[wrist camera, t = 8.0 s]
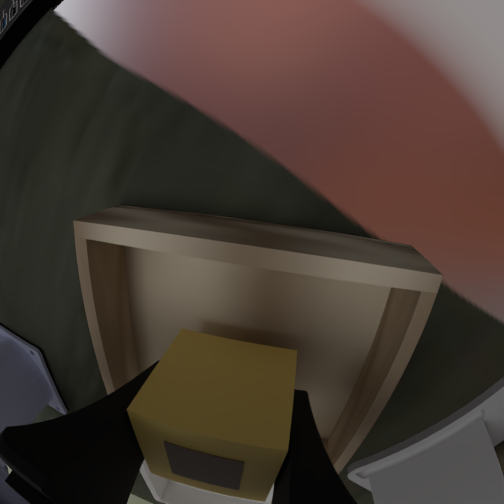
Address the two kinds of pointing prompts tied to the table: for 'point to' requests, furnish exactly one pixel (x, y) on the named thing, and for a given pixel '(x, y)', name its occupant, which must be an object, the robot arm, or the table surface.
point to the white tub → (189, 492)
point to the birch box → (258, 303)
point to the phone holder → (442, 459)
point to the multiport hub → (20, 22)
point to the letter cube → (217, 414)
